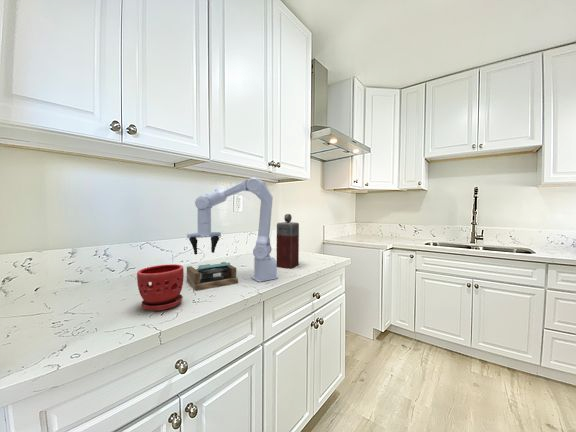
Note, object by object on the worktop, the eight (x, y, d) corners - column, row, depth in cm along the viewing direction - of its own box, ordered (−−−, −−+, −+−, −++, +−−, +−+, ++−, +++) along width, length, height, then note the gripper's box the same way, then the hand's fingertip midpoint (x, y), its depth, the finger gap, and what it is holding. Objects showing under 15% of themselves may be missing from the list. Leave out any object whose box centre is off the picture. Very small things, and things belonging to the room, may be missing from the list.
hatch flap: (221, 276, 110) (220, 268, 111) (231, 270, 101) (229, 262, 102) (194, 280, 103) (193, 272, 104) (201, 274, 94) (200, 266, 95)
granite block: (213, 277, 109) (209, 274, 114) (213, 266, 109) (209, 264, 113) (201, 279, 107) (198, 276, 111) (201, 267, 106) (198, 265, 110)
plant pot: (184, 295, 87) (184, 262, 86) (182, 310, 74) (182, 271, 74) (142, 300, 82) (141, 264, 82) (132, 316, 70) (132, 275, 69)
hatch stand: (225, 275, 113) (225, 262, 113) (237, 283, 101) (237, 268, 101) (186, 281, 104) (186, 266, 104) (195, 290, 92) (195, 274, 92)
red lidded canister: (280, 263, 139) (281, 213, 138) (298, 265, 134) (299, 214, 133) (272, 266, 131) (272, 213, 130) (291, 268, 126) (291, 214, 125)
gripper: (217, 222, 118) (217, 250, 119) (185, 223, 110) (185, 253, 110) (222, 223, 112) (222, 252, 113) (189, 224, 104) (189, 256, 105)
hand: (204, 253), depth 111 cm, fingers open, 7 cm apart
